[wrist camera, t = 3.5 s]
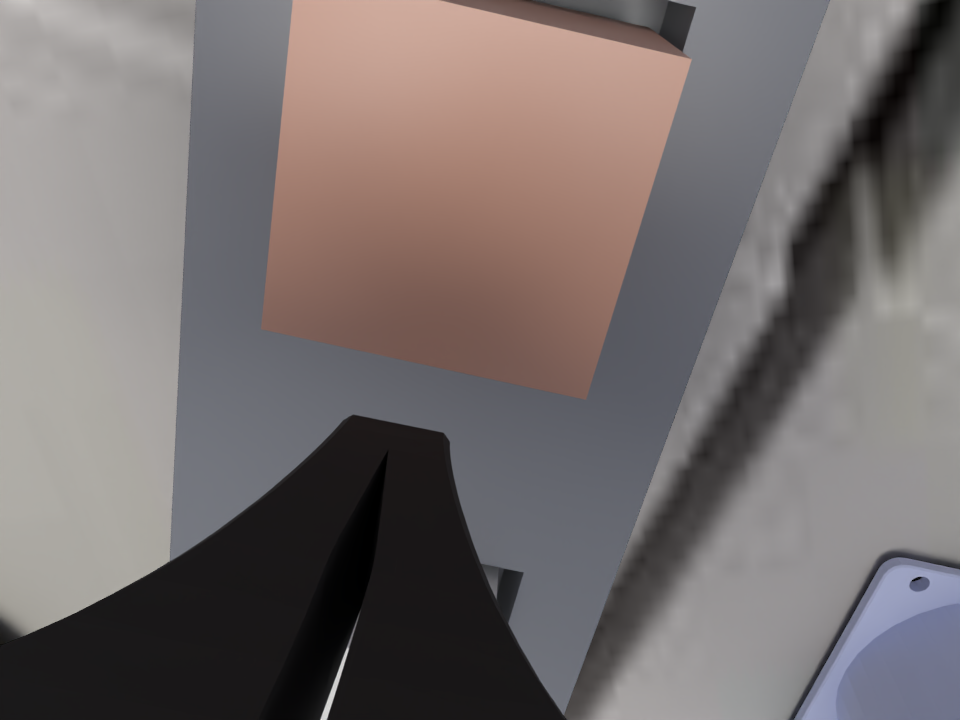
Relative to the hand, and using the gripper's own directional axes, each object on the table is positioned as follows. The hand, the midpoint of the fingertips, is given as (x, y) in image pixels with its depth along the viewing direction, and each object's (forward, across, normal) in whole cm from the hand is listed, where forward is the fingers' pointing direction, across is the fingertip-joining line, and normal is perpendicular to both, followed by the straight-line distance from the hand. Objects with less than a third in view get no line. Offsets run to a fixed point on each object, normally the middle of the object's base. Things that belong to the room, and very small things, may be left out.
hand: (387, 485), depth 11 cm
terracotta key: (+7, 0, -3) cm, 7 cm away
